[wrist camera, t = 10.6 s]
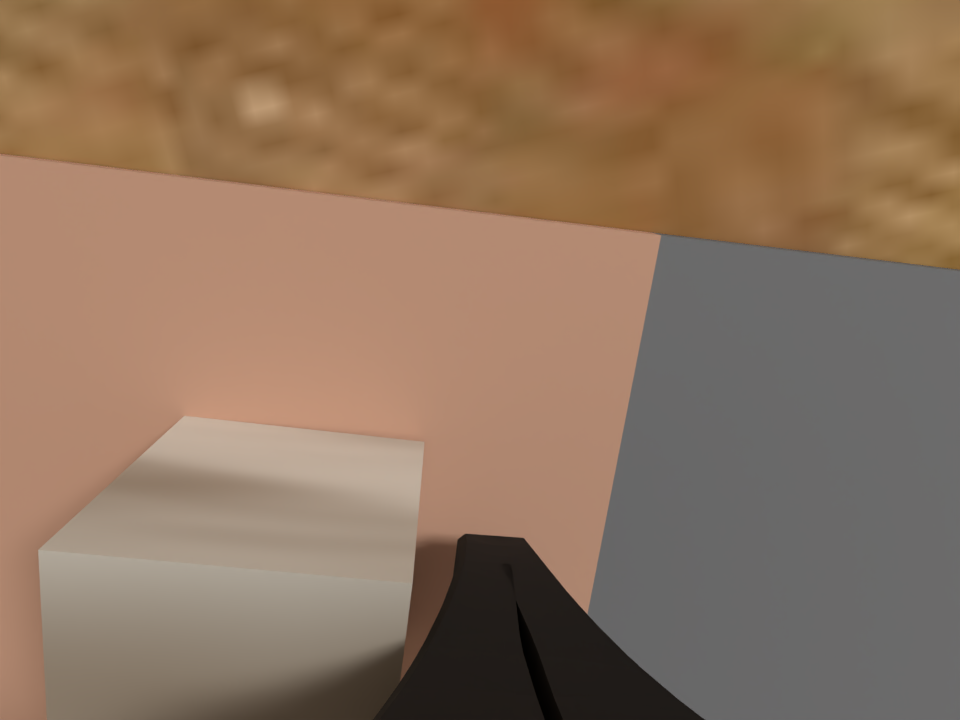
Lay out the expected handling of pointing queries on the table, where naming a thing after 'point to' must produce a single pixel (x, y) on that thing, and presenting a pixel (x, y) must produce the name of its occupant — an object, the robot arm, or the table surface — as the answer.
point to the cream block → (235, 579)
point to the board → (519, 415)
